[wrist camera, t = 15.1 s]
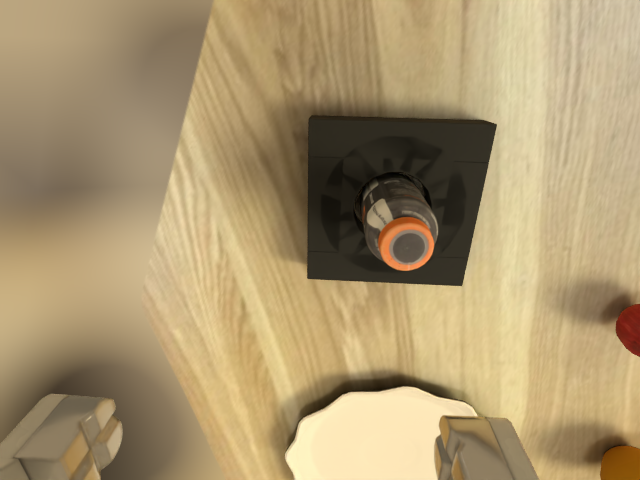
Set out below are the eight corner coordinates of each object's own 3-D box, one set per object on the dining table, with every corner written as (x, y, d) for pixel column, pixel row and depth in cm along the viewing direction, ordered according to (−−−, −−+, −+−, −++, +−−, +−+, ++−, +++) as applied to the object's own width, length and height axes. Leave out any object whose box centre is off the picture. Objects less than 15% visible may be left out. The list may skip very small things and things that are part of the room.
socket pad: (311, 115, 34) (308, 118, 31) (484, 120, 33) (497, 124, 30) (309, 265, 40) (307, 279, 38) (454, 272, 40) (462, 286, 37)
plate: (494, 362, 45) (502, 377, 42) (495, 505, 56) (501, 523, 54) (267, 387, 48) (263, 402, 46) (312, 516, 60) (311, 533, 58)
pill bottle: (348, 191, 37) (351, 236, 26) (400, 159, 35) (425, 194, 25) (378, 237, 39) (391, 295, 28) (428, 208, 37) (462, 259, 27)
